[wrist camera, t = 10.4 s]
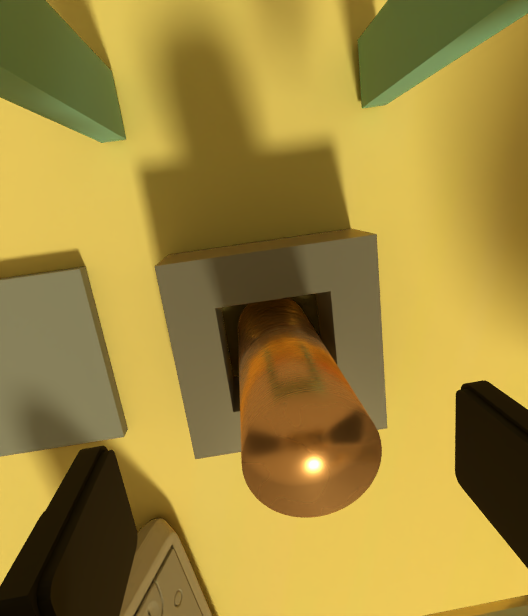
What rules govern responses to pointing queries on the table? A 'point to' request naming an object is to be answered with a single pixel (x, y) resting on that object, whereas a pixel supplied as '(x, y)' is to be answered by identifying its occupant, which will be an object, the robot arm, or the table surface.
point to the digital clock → (162, 576)
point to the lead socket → (262, 287)
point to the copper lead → (299, 416)
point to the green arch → (101, 89)
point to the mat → (54, 365)
